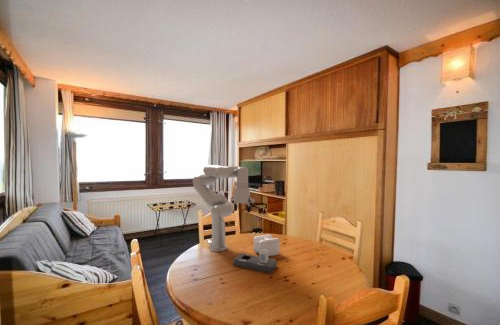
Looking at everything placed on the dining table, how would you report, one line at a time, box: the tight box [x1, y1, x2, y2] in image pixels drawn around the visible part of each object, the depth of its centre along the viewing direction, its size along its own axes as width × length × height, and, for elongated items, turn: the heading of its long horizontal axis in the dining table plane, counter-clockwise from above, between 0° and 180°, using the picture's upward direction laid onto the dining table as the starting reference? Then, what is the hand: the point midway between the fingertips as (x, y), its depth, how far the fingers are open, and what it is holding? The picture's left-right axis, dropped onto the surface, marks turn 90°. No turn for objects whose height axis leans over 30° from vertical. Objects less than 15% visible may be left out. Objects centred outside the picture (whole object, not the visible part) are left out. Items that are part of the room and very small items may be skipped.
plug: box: [259, 249, 270, 264], centre depth 138 cm, size 4×5×11 cm
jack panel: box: [233, 252, 277, 274], centre depth 140 cm, size 24×10×4 cm, turn 65°
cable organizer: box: [253, 233, 281, 257], centre depth 159 cm, size 15×11×12 cm
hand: (242, 211), depth 153 cm, fingers open, 9 cm apart
